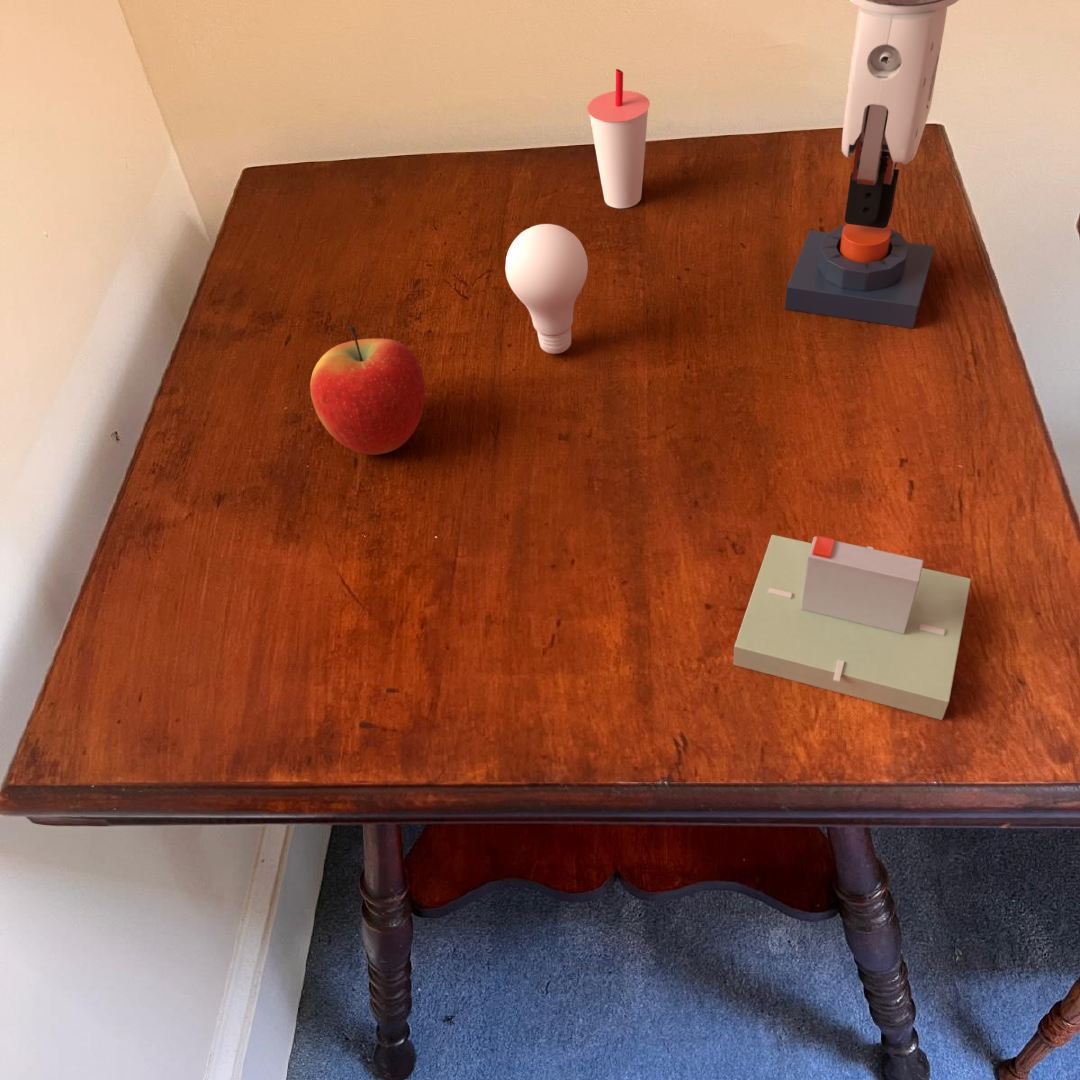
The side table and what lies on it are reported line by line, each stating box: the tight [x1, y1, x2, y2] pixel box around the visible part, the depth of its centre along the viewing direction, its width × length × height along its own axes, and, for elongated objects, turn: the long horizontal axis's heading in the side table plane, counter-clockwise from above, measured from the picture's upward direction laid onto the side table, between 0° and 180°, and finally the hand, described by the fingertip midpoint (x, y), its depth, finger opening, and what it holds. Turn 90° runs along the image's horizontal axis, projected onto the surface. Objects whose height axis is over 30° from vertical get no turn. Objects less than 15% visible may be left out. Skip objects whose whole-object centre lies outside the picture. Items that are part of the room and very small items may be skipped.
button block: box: [784, 224, 935, 329], centre depth 82 cm, size 10×8×4 cm
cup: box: [586, 68, 651, 209], centre depth 91 cm, size 5×5×12 cm
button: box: [840, 223, 891, 263], centre depth 80 cm, size 4×4×2 cm
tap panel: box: [732, 534, 972, 721], centre depth 62 cm, size 12×10×2 cm
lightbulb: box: [504, 223, 589, 355], centre depth 78 cm, size 6×6×11 cm
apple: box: [309, 325, 426, 456], centre depth 74 cm, size 8×8×10 cm
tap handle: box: [801, 535, 924, 634], centre depth 59 cm, size 6×2×5 cm, turn 68°
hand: (867, 219), depth 79 cm, fingers closed
